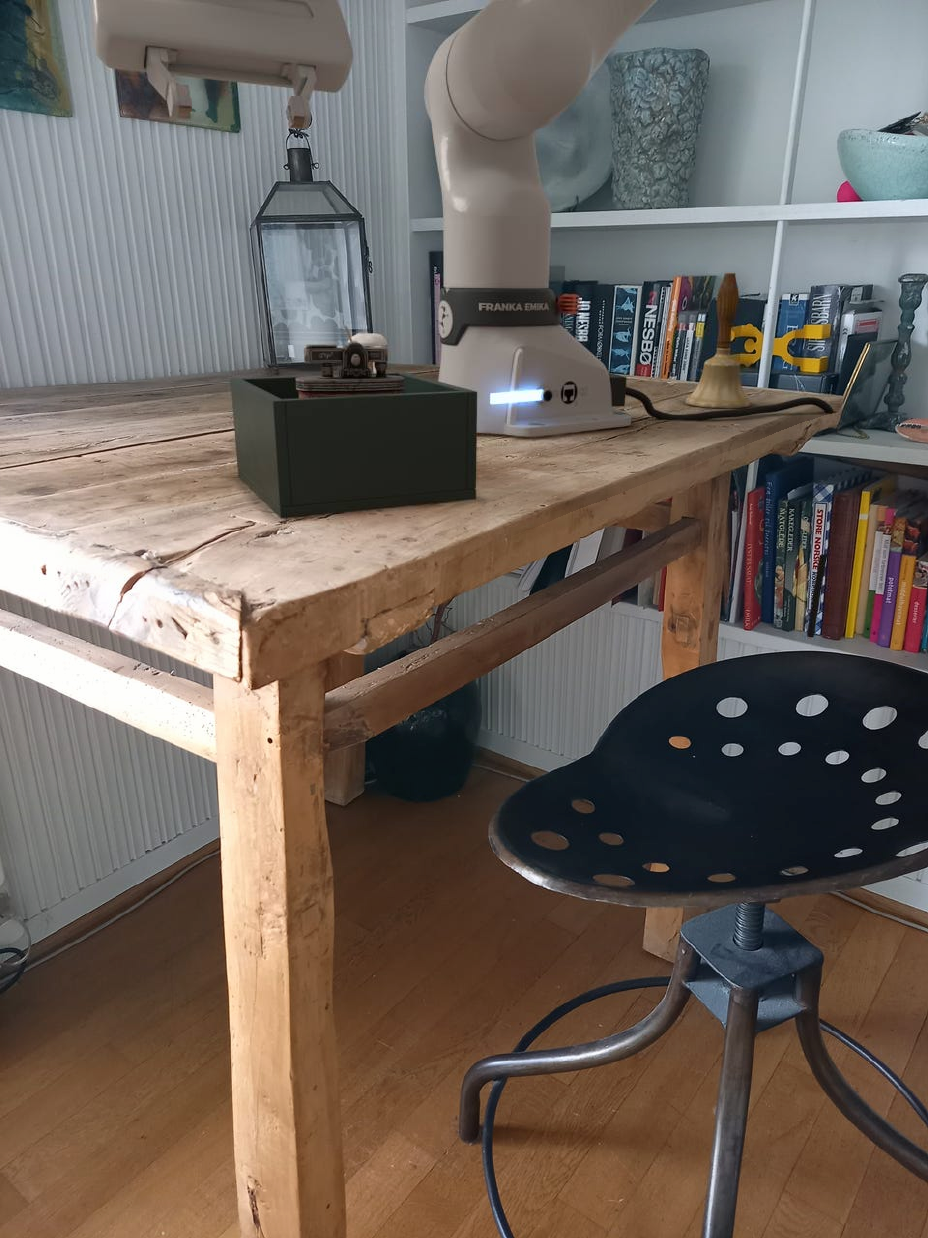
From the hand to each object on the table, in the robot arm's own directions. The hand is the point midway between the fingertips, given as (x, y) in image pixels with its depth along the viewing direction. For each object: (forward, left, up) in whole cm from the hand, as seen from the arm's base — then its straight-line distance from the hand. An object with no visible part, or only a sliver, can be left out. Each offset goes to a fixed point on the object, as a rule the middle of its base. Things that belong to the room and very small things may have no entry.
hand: (242, 118), depth 71 cm
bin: (-3, +14, -27) cm, 31 cm away
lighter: (-4, +14, -26) cm, 30 cm away
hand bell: (-62, -15, -27) cm, 70 cm away
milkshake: (-17, -24, -27) cm, 40 cm away
